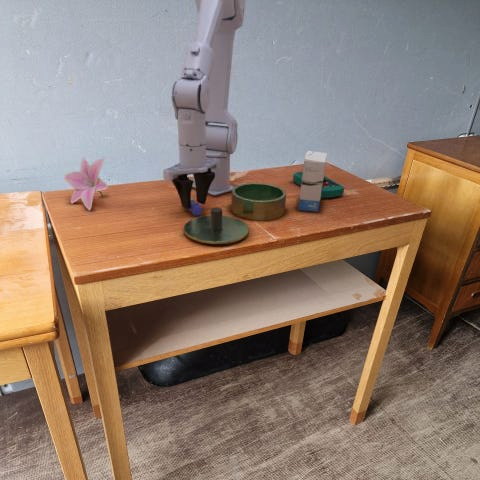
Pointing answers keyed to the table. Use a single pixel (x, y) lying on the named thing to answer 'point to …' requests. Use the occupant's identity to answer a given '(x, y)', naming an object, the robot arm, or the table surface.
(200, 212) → the eraser
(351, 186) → the table surface
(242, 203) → the pan
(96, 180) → the lily
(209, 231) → the pan lid
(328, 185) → the digital multimeter
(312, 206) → the ink box
